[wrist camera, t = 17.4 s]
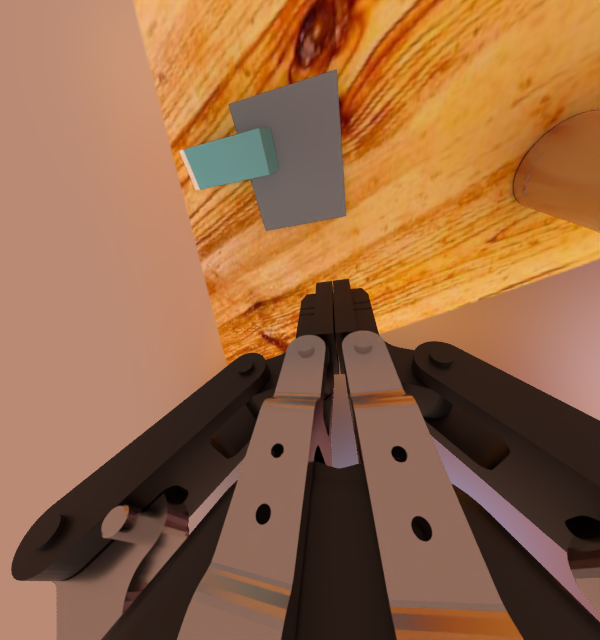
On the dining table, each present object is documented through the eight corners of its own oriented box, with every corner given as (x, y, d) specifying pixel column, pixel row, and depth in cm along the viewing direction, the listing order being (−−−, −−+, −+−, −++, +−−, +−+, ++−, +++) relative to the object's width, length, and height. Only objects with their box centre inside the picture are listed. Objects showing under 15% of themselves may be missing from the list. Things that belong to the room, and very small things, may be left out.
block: (258, 128, 22) (179, 150, 25) (269, 174, 24) (196, 190, 27) (270, 128, 25) (197, 148, 28) (279, 169, 27) (211, 184, 30)
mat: (336, 70, 22) (336, 69, 22) (345, 214, 31) (346, 215, 30) (230, 104, 25) (228, 104, 24) (266, 229, 33) (265, 230, 33)
